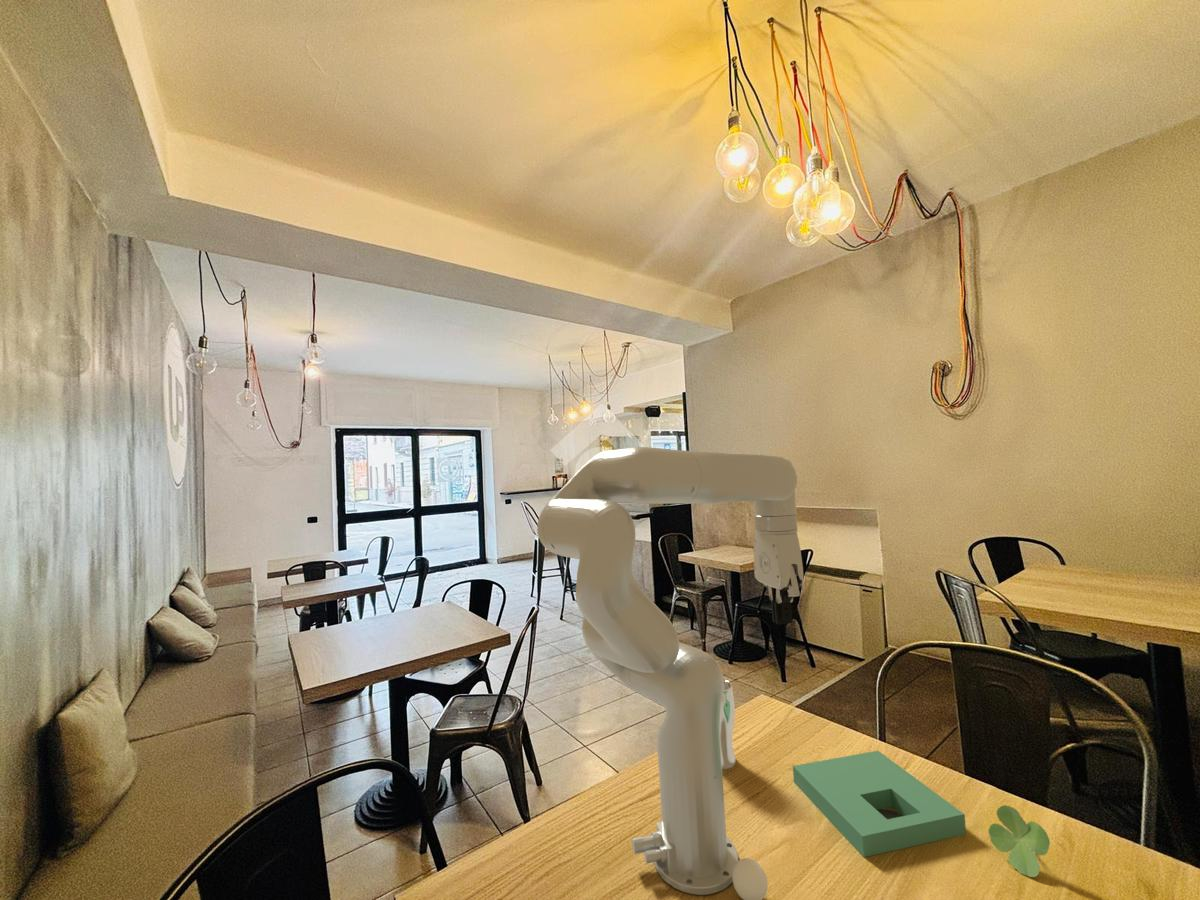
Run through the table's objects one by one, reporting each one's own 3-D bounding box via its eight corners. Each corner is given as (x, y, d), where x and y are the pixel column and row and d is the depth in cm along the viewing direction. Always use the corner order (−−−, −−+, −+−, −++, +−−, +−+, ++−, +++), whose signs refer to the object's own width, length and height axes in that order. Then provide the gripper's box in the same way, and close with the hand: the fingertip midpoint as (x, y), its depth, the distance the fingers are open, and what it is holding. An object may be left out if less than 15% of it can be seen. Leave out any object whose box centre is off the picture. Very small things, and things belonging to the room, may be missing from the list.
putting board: (863, 857, 72) (862, 836, 72) (793, 782, 90) (792, 765, 90) (966, 834, 75) (964, 814, 75) (879, 766, 93) (878, 750, 93)
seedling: (1010, 877, 72) (996, 870, 69) (993, 811, 77) (980, 802, 74) (1073, 887, 68) (1062, 882, 65) (1051, 817, 73) (1039, 808, 70)
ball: (774, 879, 67) (757, 914, 65) (744, 852, 70) (727, 884, 68) (773, 874, 64) (756, 911, 62) (742, 846, 67) (724, 880, 65)
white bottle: (710, 747, 102) (706, 674, 103) (743, 757, 98) (738, 681, 99) (696, 764, 97) (692, 687, 98) (730, 775, 93) (725, 695, 93)
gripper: (739, 522, 99) (745, 614, 98) (779, 529, 84) (786, 637, 83) (772, 519, 100) (779, 610, 99) (818, 526, 85) (826, 633, 84)
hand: (782, 622), depth 91 cm, fingers closed
